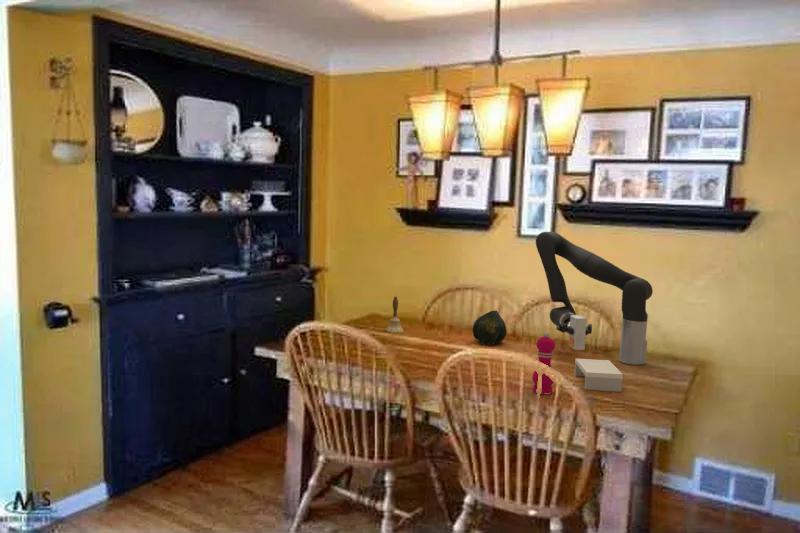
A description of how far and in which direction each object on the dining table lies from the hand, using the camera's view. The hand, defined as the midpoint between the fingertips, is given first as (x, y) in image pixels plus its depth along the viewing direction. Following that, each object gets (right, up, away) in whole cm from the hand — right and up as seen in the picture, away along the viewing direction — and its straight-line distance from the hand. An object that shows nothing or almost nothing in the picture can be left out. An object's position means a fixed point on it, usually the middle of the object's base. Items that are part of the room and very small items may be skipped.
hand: (579, 332), depth 239 cm
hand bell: (-69, -5, +56) cm, 89 cm away
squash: (-28, -9, +40) cm, 50 cm away
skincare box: (0, -6, +3) cm, 7 cm away
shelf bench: (+2, -16, -14) cm, 21 cm away
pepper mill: (-20, -17, -26) cm, 37 cm away
